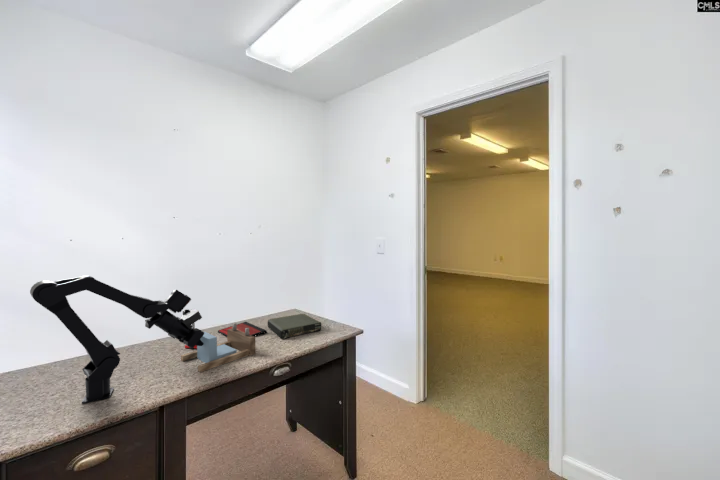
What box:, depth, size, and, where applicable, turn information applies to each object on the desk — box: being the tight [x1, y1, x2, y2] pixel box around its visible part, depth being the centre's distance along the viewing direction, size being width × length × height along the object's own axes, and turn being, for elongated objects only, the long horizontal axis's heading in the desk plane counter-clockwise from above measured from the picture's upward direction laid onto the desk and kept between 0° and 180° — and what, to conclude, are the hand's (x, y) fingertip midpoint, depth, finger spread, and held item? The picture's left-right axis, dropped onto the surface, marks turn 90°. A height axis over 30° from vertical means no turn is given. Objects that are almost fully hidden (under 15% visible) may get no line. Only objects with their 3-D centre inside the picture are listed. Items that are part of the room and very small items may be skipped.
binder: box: [217, 321, 268, 338], centre depth 152 cm, size 16×2×21 cm
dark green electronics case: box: [267, 313, 322, 340], centre depth 156 cm, size 23×23×5 cm
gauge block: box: [196, 331, 238, 364], centre depth 122 cm, size 11×10×10 cm
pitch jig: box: [180, 322, 256, 373], centre depth 123 cm, size 22×18×10 cm
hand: (202, 344), depth 118 cm, fingers closed, pressing on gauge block
